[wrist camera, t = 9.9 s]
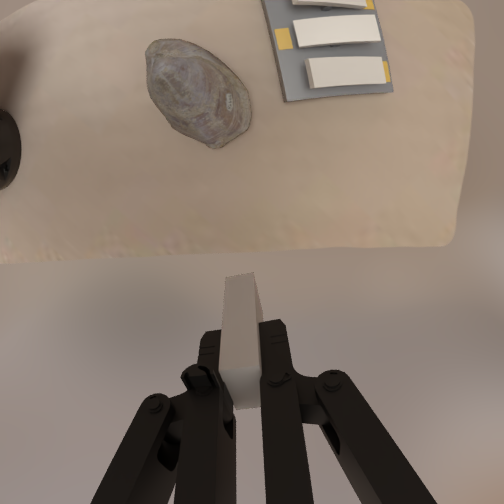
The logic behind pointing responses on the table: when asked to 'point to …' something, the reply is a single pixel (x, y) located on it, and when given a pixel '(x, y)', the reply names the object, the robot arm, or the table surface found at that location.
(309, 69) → the rocker
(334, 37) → the rocker
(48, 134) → the table surface
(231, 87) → the seashell
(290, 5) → the switch unit
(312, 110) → the table surface
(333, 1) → the plate
